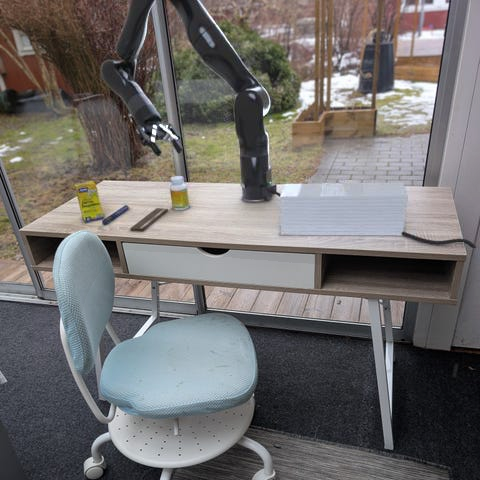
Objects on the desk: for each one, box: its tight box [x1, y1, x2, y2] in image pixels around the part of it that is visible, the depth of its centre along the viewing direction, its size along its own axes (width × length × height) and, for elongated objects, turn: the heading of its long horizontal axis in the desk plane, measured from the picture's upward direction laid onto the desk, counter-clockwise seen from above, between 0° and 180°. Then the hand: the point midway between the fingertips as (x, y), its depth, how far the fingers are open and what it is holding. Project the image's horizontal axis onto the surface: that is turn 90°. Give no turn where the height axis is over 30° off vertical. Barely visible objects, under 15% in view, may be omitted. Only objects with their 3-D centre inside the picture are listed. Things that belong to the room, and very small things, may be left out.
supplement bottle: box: [169, 175, 190, 211], centre depth 151 cm, size 5×5×10 cm
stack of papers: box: [279, 181, 409, 237], centre depth 128 cm, size 32×11×11 cm, turn 80°
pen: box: [101, 204, 130, 226], centre depth 150 cm, size 15×2×2 cm, turn 161°
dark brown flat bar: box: [130, 207, 169, 233], centre depth 146 cm, size 17×4×1 cm, turn 161°
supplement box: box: [73, 180, 105, 223], centre depth 149 cm, size 6×6×11 cm
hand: (170, 153), depth 149 cm, fingers open, 8 cm apart
